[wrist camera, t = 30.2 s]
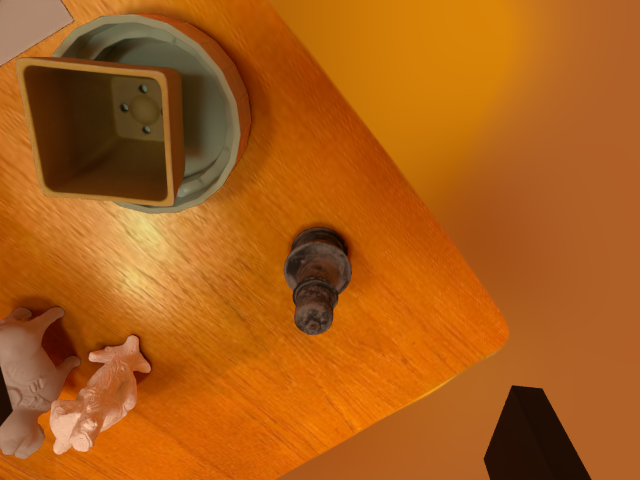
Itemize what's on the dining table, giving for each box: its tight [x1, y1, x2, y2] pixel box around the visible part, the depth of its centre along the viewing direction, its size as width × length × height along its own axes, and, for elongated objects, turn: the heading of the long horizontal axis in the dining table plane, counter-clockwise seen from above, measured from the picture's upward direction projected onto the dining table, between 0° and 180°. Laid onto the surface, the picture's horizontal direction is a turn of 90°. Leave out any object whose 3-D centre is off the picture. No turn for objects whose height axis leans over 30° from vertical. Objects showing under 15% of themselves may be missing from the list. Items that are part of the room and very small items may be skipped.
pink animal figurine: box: [50, 335, 151, 455], centre depth 44 cm, size 8×7×12 cm
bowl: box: [52, 14, 251, 214], centre depth 35 cm, size 14×14×5 cm
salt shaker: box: [284, 227, 352, 335], centre depth 37 cm, size 6×6×12 cm
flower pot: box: [16, 57, 185, 207], centre depth 32 cm, size 9×9×9 cm
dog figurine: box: [0, 307, 81, 458], centre depth 44 cm, size 5×13×11 cm, turn 3°
